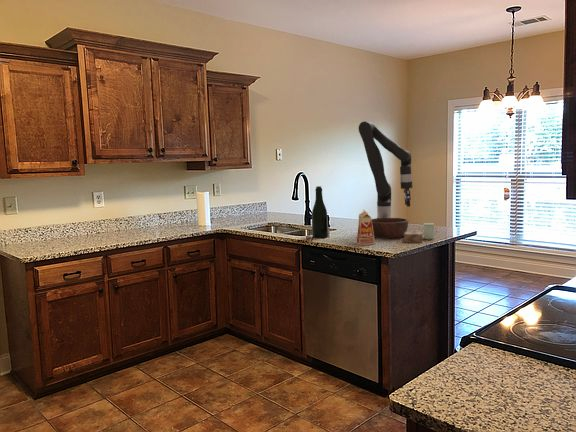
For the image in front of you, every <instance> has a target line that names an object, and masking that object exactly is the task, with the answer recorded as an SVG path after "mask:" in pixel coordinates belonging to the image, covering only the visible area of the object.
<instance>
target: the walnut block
mask: <svg viewBox="0 0 576 432" xmlns="http://www.w3.org/2000/svg"><path fill="white" fill-rule="evenodd" d="M403 237H404V239H403V240H404V241H403V242H404V243H423V231H407V232H405V234H404V236H403Z"/></svg>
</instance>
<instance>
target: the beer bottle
mask: <svg viewBox="0 0 576 432" xmlns="http://www.w3.org/2000/svg"><path fill="white" fill-rule="evenodd" d="M314 201H315V202H314V205H313V207H312V211H311V236H312V237H313V238H315V239H325V238H328V236H329V221H328V211H327V208H326V205H325V202H324V197H323V188H322V186H321V185H320V186H319V185H317V186H315V200H314Z"/></svg>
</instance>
